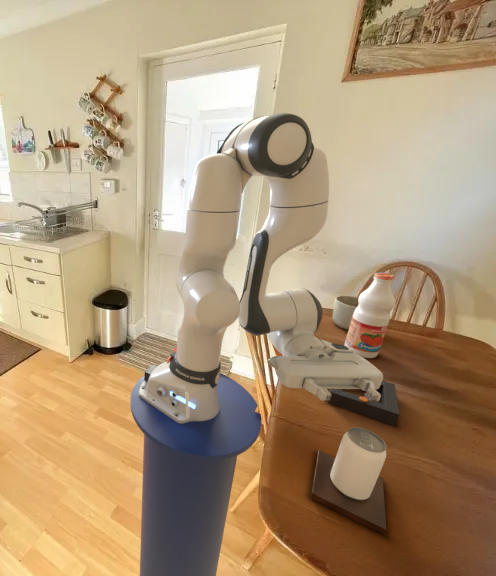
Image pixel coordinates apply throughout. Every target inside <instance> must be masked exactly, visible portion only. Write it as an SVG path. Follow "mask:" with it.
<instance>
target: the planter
mask: <svg viewBox="0 0 496 576" xmlns="http://www.w3.org/2000/svg"><path fill="white" fill-rule="evenodd" d="M358 299H359V296H354V295H338V296H336V297H335V299H334V303H333V309H332V321H333V323H334V324H335V325H336V326H337V327H339V328H341V329H343V330H347V331H348V330H349V327H350V324H351V320H352V317H353V313H354V311H355V309H356V308H357V307H358V305H359V303H358Z"/></svg>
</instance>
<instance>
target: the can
mask: <svg viewBox="0 0 496 576" xmlns="http://www.w3.org/2000/svg"><path fill="white" fill-rule="evenodd" d="M338 446H339V447H338V449H337V452H336V455H335V461H334V464H333V467H332V470H331V474H330V477H331V480H332V482H333V484H334V485H335V486H336V488H337V489H338V490H339V491H341V492H342V493H343V494H345V495H346V496H348V497H351V498H354V499H358V500H365V499H367V498H369V497H370V495H371V493H372V490H373V488H374V486H375V483H376V481H377V478H378V476H380V474H381V471H382V469H383V466H384V464H385V461H386V458H387V455H388V454H387V443H386V442H385V441H384V439H382V437H381V436H379V435H378V434H377V433H375V432H373V431H372V430H369V429H368V428H364V427H360V426H353V427H350V428H348V430H347V431H346V432H345V433H344V434H343V435H342V438H341V440H340V443H339V445H338Z"/></svg>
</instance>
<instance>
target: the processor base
mask: <svg viewBox="0 0 496 576" xmlns="http://www.w3.org/2000/svg"><path fill="white" fill-rule="evenodd" d="M359 390H361V391H363V390H362V389H359ZM375 390H376V391H377V392H379V393H380V395H381V397H380V400H379V401H369V400H368V399H367V398H366V397H365V396H363V395H362V396H361V395H358V394H354V393H351V392H348V391H345V390H343V389H328V391H329V392H330V393H331V397H330V400H329V401H327V403H328V404H332V405H333V406H337V407H340V408H342V409H346V410H348V411H352V412H354V413H357V414H360V415H363V416H366V417H369V418H372V419H375V420H377V421H380V422H384V423H386V424H390V425H391V426H396V424H397V421H398V420H399V417H400V409H399V402H398V397H397V396H398V395H397V390H396V383H392V382H389V381H385V380H382V383H381V385H380V387H379V389H375Z"/></svg>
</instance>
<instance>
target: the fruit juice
mask: <svg viewBox="0 0 496 576" xmlns="http://www.w3.org/2000/svg"><path fill="white" fill-rule="evenodd" d="M394 280H395V274H392V273H388V272H381V271H379V272H378V271H377V272H375V273H374V274H373V281H372V282H371V284H370V285H369V286H368V287H367V288H366V289H365V290H363V291H362V292H361V293H360V294H359V296H358V297H359V299H358V303H359V305H358V307H357V308H356V309H355V311H354V313H353V317H352V320H351V324H350V327H349V330H347V334H346V337H345V341H344V344H343V345H345V346H349V347H351V348H352V349H353V350H354V353H353V354H356V355H359V356H361V357H363V358H364V359H374V358H376V357H378V356H379V353H380V350H381V348H382V345H383V341H384V338H385V336H386V332H387V331H388V327H389V324H390V321H391V311H392V310H393V309H394V307H395V305H396V298H395V296H394V294H393V290H392V283H393V282H394Z"/></svg>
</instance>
